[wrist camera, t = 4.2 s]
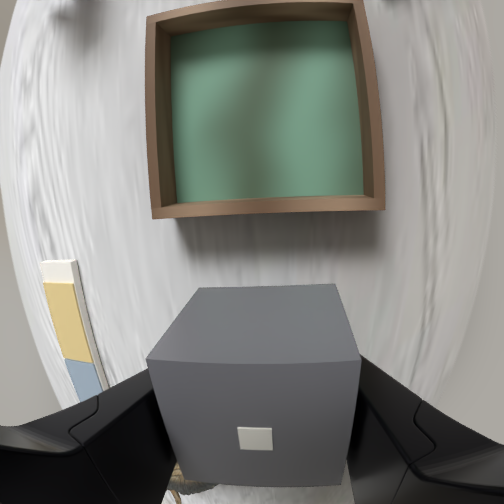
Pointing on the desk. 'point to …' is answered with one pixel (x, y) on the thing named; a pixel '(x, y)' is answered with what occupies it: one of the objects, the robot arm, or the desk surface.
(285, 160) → the dice tray
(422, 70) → the desk surface
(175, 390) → the die
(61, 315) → the track board
